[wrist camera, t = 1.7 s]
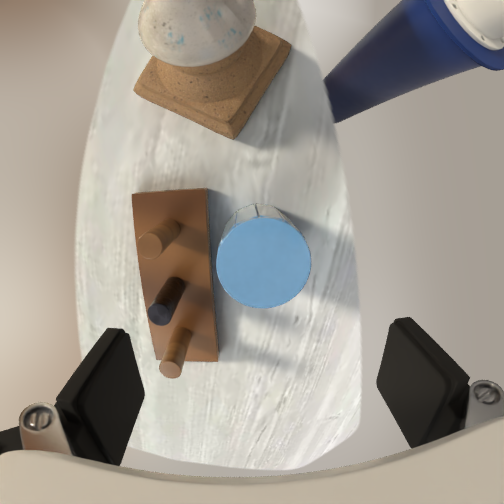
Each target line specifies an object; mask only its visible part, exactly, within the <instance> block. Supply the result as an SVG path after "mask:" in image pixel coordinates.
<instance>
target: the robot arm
mask: <svg viewBox="0 0 504 504" xmlns="http://www.w3.org/2000/svg"><path fill="white" fill-rule="evenodd" d="M444 2H445V4H446V6H447V7H448V9H449V11H450V12H451V14H452V15H453V17H454V18H455V20H456V21H457V22H458V23H459V25H460V26H461V27H462V28H463V29H464V30H465V32H466V33H468V34H469V35H470V36H471V37H472V38H473V39H474V40H475V41H476V42H477V43H479V44H480V45H482V46H483V47H485V48H487V49H489V50H499V49H502V48H503V47H504V0H444ZM469 379H470V377H469V376H468V375H467V374H466V373H465V372H464V370H463V369H462V368H461V367H460V366H458V364H457V363H456V362H455V361H454V360H453V359H452V358H451V357H450V356H449V355H448V354H447V353H446V352H445V351H444V350H443V349H442V348H441V347H440V346H439V345H438V344H437V343H436V342H435V341H434V340H433V339H432V338H431V337H430V336H429V335H428V334H427V333H426V332H425V331H424V330H423V329H422V328H421V327H420V326H419V325H418V324H417V323H416V322H415V321H414V320H413V319H412V318H410V317H405V318H398V319H395V320H394V323H392V324H391V325H390V327H389V332H388V336H387V341H386V345H385V349H384V353H383V357H382V361H381V365H380V369H379V373H378V376H377V388H378V390H379V391H380V393H381V395H382V397H383V399H384V400H385V402H386V403H387V406H388V407H389V409H390V411H391V413H392V415H393V416H394V418H395V420H396V422H397V424H398V425H399V427H400V429H401V431H402V433H403V435H404V436H405V438H406V440H407V442H408V444H409V446H410V447H411V448H412V449H409V450H406V451H403V452H400V453H397V454H394V455H390V456H386V457H383V458H379V459H375V460H371V461H367V462H363V463H358V464H354V465H349V466H344V467H339V468H334V469H328V470H321V471H315V472H307V473H299V474H291V475H280V476H265V477H201V476H186V475H174V474H165V473H158V472H151V471H144V470H137V469H132V468H126V467H121V466H120V464H121V461H122V458H123V456H124V453H125V450H126V447H127V444H128V441H129V438H130V436H131V433H132V430H133V427H134V425H135V422H136V419H137V416H138V414H139V411H140V408H141V406H142V403H143V400H144V396H145V392H144V387H143V384H142V381H141V377H140V374H139V370H138V367H137V363H136V359H135V355H134V351H133V348H132V343H131V339H130V336H129V334H128V333H125V331H124V330H123V329H118V328H107V329H106V331H105V332H104V333H103V334H102V336H101V337H100V338H99V340H98V341H97V342H96V344H95V345H94V346H93V348H92V349H91V350H90V352H89V353H88V354H87V356H86V357H85V358H84V360H83V361H82V362H81V364H80V365H79V367H78V368H77V369H76V371H75V372H74V373H73V375H72V376H71V378H70V379H69V380H68V382H67V383H66V385H65V386H64V388H63V389H62V391H61V392H60V394H59V395H58V396H57V398H56V401H57V402H56V404H55V405H54V406H53V405H51V404H49V403H45V402H39V403H34V404H31V405H29V406H28V407H26V408H25V409H24V410H23V411H22V413H21V415H20V417H19V426H17V427H14V428H11V429H8V430H4V431H1V432H0V504H504V391H503V390H502V388H501V387H500V386H499V385H498V384H496V383H494V382H492V381H489V380H478V381H476V382H474V383H473V384H472V385H471V386H469V385H468V381H469Z"/></svg>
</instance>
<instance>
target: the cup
mask: <svg viewBox="0 0 504 504" xmlns="http://www.w3.org/2000/svg"><path fill="white" fill-rule="evenodd" d="M216 269H217V274H218V278H219V280H220V283H221V285H222V286H223V288H224V289H225V291H226V292H227V293H228V294H229V295H230V296H231V297H232V298H233V299H235V300H236V301H238V302H240V303H242V304H244V305H246V306H250V307H254V308H272V307H276V306H279V305H282V304H284V303H286V302H288V301H290V300H291V299H292V298H294V297H295V296H296V295H297V294H298V293H299V292H300V291H301V290H302V288H303V287H304V285H305V284H306V282H307V280H308V277H309V274H310V270H311V254H310V250H309V247H308V245H307V242H306V241H305V238H304V236H303V235H302V233H301V232H300V231H299V230H298V229H297V227H296V226H295V225H294V224H293V223H292V222H291V221H290V220H289V219H288V218H287V217H286V216H285V215H284V214H283V213H282V212H280V211H279V210H278V209H277V208H275V207H273V206H270V205H263V204H257V203H256V205H254V204H252V205H249V206H246V207H244V208H241V209H239V210H238V212H237V211H236V212H235V213H234V215H233V216H232V217H231V218H230V220H229V221H228V222H227V223H226V226H225V228H224V231H223V234H222V237H221V240H220V243H219V246H218V253H217V258H216Z"/></svg>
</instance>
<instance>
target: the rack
mask: <svg viewBox="0 0 504 504" xmlns="http://www.w3.org/2000/svg"><path fill="white" fill-rule="evenodd" d="M132 207H133V218H134V229H135V238H136V247H137V255H138V262H139V270H140V276H141V283H142V289H143V295H144V301H145V307H146V312H147V317H148V323H149V328H150V333H151V337H152V342H153V347H154V351H155V355H156V359H157V360H161V363H160V365H159V370H160V372H161V373H162V374H163V375H164V376H165V377H168V378H177V377H179V376H180V375H181V372H182V368H183V365H184V361H208V362H218V358H219V349H218V338H217V328H216V316H215V304H214V292H213V278H212V264H211V248H210V231H209V212H208V189H207V188H196V189H180V190H165V191H152V192H141V193H134V194H132Z"/></svg>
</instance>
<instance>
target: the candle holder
mask: <svg viewBox="0 0 504 504" xmlns="http://www.w3.org/2000/svg"><path fill="white" fill-rule="evenodd" d="M255 20H256V9H255V5H254V1H253V0H145V1H144V3H143V5H142V8H141V11H140V14H139V19H138V30H139V35H140V38H141V41H142V43H143V45H144V46H145V48H146V49H147V50H148V51H149V52H150V53H151V54H152V55H153V56H152V57H151V59H150V61H149V62H148V64H147V66H146V67H145V69H144V70H143V72H142V74H141V75H140V77H139V79H138V81H137V83H136V85H135V87H134V90H133V91H134V92H135V93H136V94H138V95H139V96H141V97H142V98H144V99H146V100H148V101H150V102H152V103H155V104H157V105H159V106H161V107H164V108H166V109H168V110H170V111H173V112H175V113H177V114H179V115H181V116H183V117H186V118H188V119H190V120H192V121H194V122H196V123H198V124H200V125H202V126H204V127H206V128H208V129H210V130H212V131H214V132H216V133H219V134H221V135H223V136H225V137H227V138H230V139H235V138H236V137H237V136H238V134H239V133H240V131H241V130H242V128H243V127H244V125H245V123H246V122H247V120H248V118H249V117H250V115H251V114H252V112H253V110H254V109H255V107H256V105H257V104H258V102H259V101H260V99H261V97H262V96H263V94H264V93H265V91H266V89H267V88H268V86H269V85H270V83H271V82H272V80H273V78H274V77H275V75H276V74H277V72H278V71H279V69H280V68H281V66H282V65H283V63H284V61H285V60H286V58H287V56H288V54H289V51H290V48H291V44H289V43H288V42H287V41H285V40H283V39H281V38H280V37H278V36H276V35H274V34H272V33H270V32H267V31H265V30H263V29H261V28H259V27H257V26H254V25H255Z"/></svg>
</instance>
